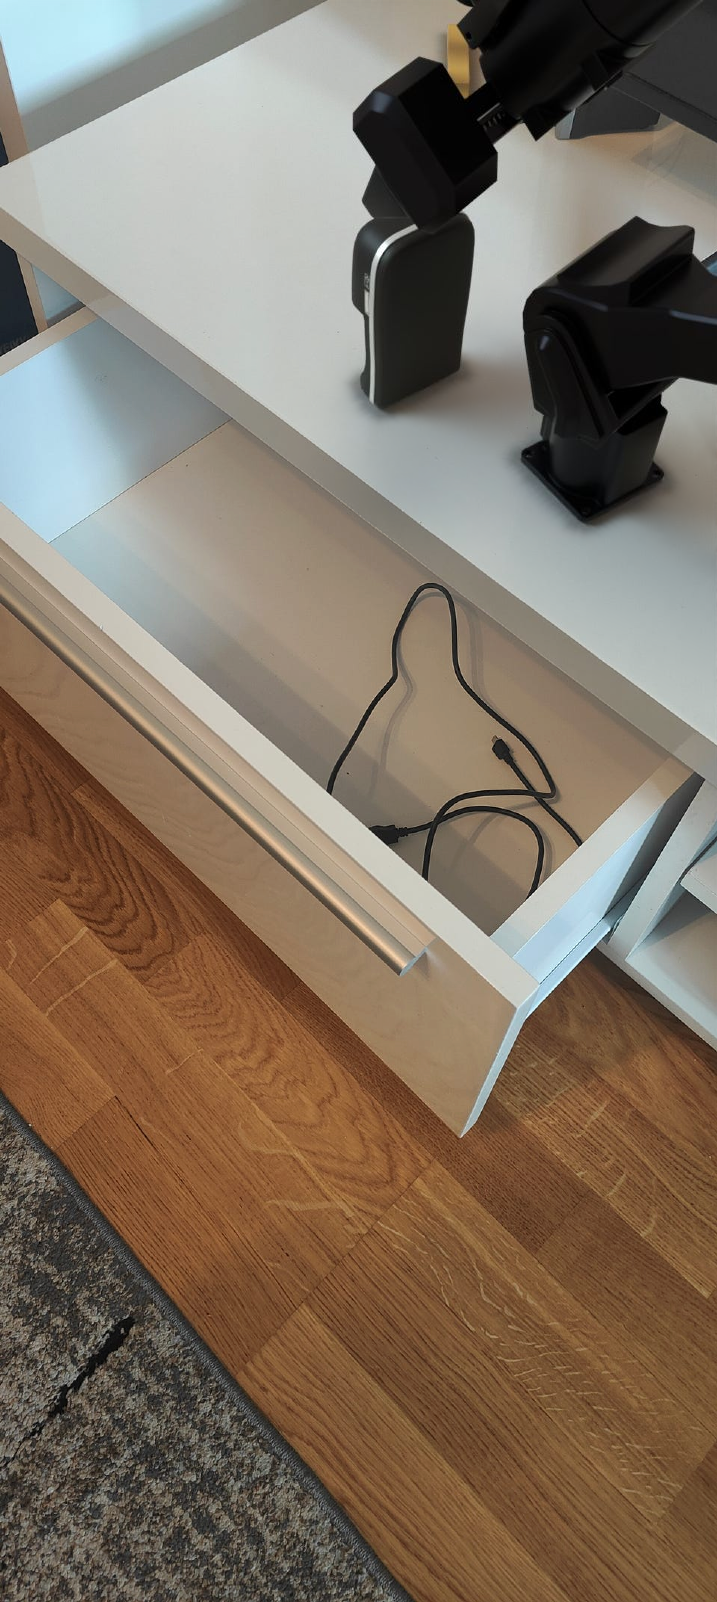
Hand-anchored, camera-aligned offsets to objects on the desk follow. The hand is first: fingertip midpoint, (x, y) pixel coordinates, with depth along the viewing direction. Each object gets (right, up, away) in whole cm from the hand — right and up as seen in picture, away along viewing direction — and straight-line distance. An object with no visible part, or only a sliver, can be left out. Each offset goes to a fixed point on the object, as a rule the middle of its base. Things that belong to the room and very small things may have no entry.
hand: (420, 166), depth 61 cm
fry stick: (+4, +23, +28) cm, 37 cm away
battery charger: (0, -7, +12) cm, 14 cm away
